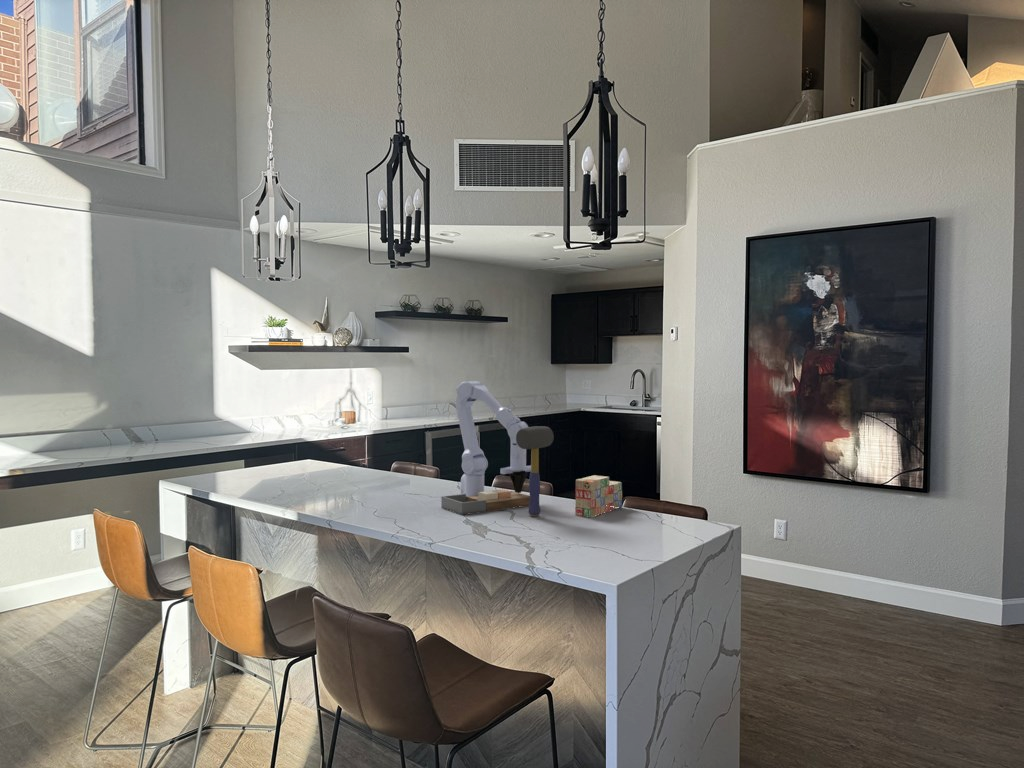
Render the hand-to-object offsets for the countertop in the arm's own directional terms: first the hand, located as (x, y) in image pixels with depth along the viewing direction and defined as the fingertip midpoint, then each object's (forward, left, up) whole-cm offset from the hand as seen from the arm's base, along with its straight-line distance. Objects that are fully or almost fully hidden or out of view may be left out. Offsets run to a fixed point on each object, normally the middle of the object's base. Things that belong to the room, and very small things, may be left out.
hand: (518, 492), depth 259 cm
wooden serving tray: (0, -8, -4) cm, 9 cm away
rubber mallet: (+22, -9, -4) cm, 24 cm away
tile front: (0, -13, -1) cm, 13 cm away
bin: (0, -23, -4) cm, 24 cm away
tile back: (0, -7, -1) cm, 8 cm away
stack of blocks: (+28, +15, -4) cm, 32 cm away
